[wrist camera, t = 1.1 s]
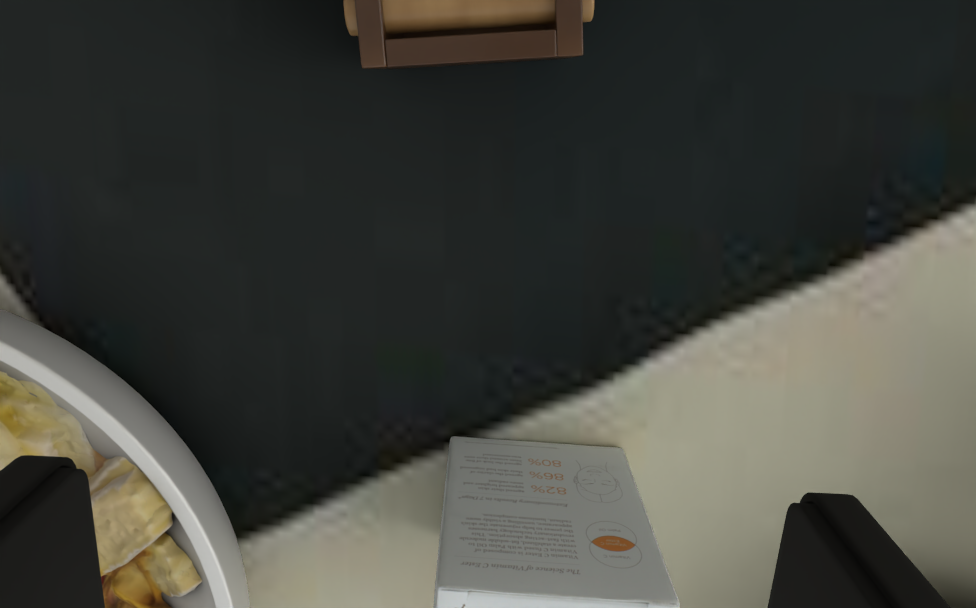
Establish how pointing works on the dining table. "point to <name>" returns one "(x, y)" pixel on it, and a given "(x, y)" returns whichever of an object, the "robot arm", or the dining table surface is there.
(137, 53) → the dining table surface
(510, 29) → the brown wooden shelf box
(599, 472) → the small box
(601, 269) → the dining table surface
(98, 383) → the bowl
